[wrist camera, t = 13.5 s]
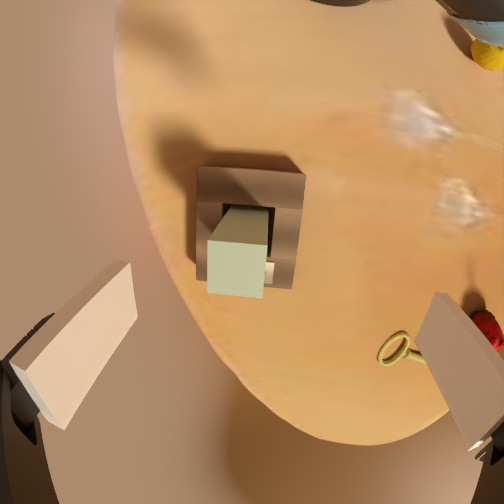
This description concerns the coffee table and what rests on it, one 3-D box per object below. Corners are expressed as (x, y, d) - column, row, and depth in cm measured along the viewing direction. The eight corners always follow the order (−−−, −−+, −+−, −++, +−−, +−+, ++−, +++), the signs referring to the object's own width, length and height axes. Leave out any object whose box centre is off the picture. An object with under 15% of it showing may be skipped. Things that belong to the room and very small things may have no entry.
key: (426, 358, 41) (430, 365, 39) (373, 362, 42) (376, 370, 40) (440, 328, 39) (445, 335, 37) (385, 330, 39) (390, 338, 37)
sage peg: (232, 204, 33) (207, 240, 20) (268, 207, 33) (267, 245, 20) (230, 239, 35) (207, 292, 22) (265, 242, 35) (262, 298, 22)
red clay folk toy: (456, 329, 38) (494, 381, 24) (478, 300, 36) (523, 346, 22) (471, 340, 39) (506, 386, 25) (491, 313, 37) (531, 356, 23)
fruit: (484, 55, 21) (514, 47, 13) (484, 79, 23) (516, 74, 15) (461, 36, 21) (490, 24, 13) (461, 61, 23) (492, 51, 15)
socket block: (204, 165, 32) (197, 167, 29) (302, 172, 31) (306, 175, 28) (201, 270, 37) (195, 281, 34) (289, 278, 36) (291, 290, 33)
